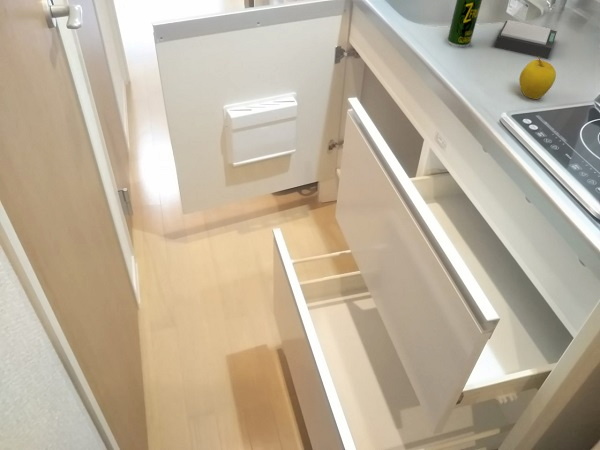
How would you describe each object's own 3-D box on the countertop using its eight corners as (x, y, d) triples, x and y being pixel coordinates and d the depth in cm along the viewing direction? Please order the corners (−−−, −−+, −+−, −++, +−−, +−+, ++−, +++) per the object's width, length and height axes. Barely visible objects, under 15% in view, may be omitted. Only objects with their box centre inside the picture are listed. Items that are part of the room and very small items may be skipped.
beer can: (442, 40, 123) (454, -13, 115) (459, 36, 125) (472, -16, 117) (457, 49, 120) (470, -4, 111) (474, 45, 122) (489, -8, 113)
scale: (553, 41, 125) (558, 28, 123) (547, 58, 118) (552, 45, 116) (502, 30, 129) (506, 18, 127) (494, 46, 122) (498, 33, 119)
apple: (515, 86, 108) (528, 49, 102) (547, 92, 106) (562, 55, 100) (512, 100, 103) (525, 62, 98) (545, 107, 101) (561, 69, 96)
